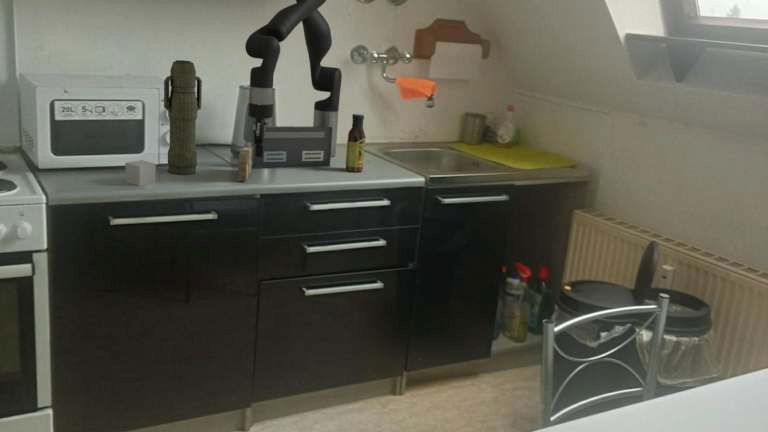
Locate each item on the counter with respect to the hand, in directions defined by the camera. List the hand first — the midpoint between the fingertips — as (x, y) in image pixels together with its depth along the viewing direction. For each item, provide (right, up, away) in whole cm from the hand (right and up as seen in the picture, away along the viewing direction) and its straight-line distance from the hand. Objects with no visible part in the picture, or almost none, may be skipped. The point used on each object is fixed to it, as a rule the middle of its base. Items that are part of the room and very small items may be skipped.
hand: (258, 156), depth 232 cm
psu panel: (+7, -2, +25) cm, 26 cm away
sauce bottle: (+29, -3, +28) cm, 40 cm away
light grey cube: (-33, -9, -13) cm, 37 cm away
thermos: (-25, -5, +4) cm, 26 cm away
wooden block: (-5, -5, +5) cm, 9 cm away
